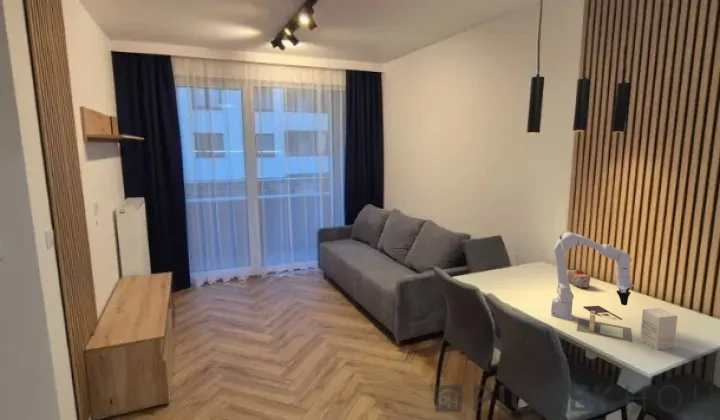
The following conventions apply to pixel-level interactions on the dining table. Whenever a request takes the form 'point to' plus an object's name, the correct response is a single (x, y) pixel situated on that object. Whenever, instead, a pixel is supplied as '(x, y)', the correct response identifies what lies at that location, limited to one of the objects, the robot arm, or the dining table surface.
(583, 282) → the food item
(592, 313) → the tile
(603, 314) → the chocolate bar
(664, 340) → the supplement box
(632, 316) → the dining table surface
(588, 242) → the robot arm
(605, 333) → the mat
